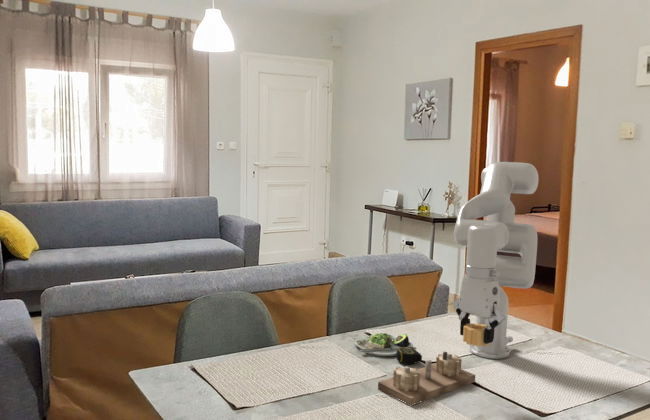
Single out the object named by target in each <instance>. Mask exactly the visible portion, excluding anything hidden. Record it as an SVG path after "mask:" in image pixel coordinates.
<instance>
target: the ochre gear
mask: <svg viewBox="0 0 650 420" xmlns="http://www.w3.org/2000/svg"><path fill="white" fill-rule="evenodd" d="M485 328H487V327H486V325H485V324H483V325H482V324H478V323H476V322H473V323H470V324H469V323H468V324H466V326H464V330H463V335H462V341H463V342H464V343H466V345H469V346H470V345H476V346H479V347H480V346H484V345H485V346H488V345H489V343H488V344H485V343H484V330H485Z"/></svg>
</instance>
